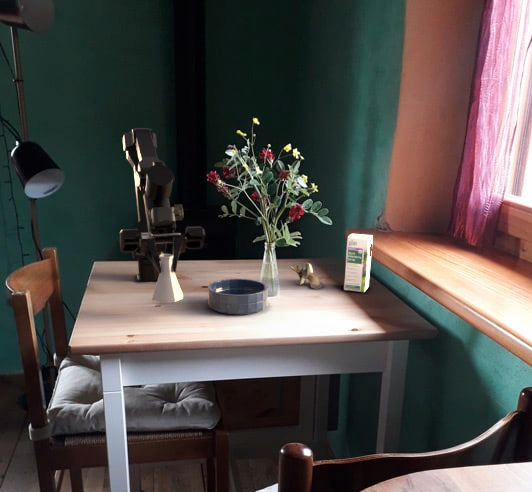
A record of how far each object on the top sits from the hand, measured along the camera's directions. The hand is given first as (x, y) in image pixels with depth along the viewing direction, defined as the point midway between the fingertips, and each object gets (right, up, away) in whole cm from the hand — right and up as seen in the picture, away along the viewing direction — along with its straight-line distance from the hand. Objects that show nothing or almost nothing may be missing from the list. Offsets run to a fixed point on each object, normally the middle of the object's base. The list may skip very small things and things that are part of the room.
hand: (167, 271), depth 136 cm
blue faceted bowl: (+15, -7, +13) cm, 21 cm away
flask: (0, -6, +4) cm, 7 cm away
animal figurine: (+33, 0, +32) cm, 46 cm away
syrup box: (+46, -2, +29) cm, 55 cm away
